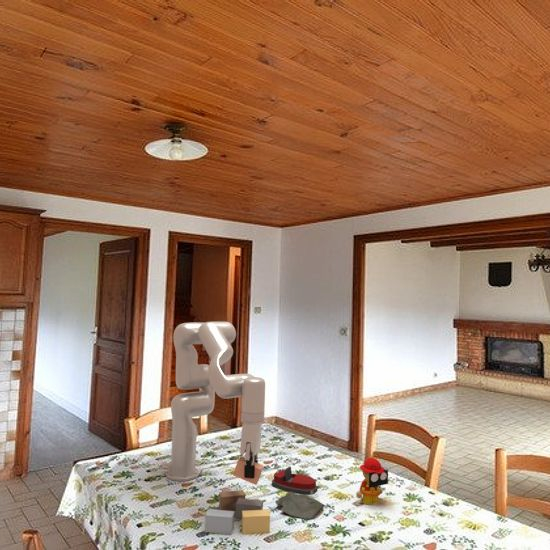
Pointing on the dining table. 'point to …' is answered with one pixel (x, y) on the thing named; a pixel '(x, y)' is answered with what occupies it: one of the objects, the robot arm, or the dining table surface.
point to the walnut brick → (230, 499)
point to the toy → (372, 480)
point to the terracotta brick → (240, 471)
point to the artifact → (300, 505)
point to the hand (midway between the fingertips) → (250, 474)
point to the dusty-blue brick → (219, 521)
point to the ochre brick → (255, 521)
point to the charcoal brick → (247, 506)
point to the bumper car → (293, 481)
